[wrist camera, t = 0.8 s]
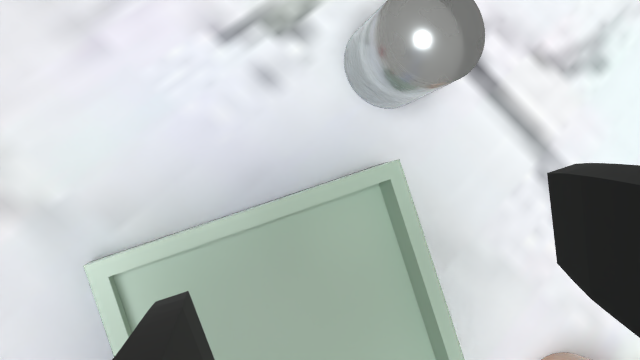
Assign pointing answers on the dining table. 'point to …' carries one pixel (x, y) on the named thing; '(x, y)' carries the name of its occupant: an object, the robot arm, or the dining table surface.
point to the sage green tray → (295, 277)
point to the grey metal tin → (413, 49)
